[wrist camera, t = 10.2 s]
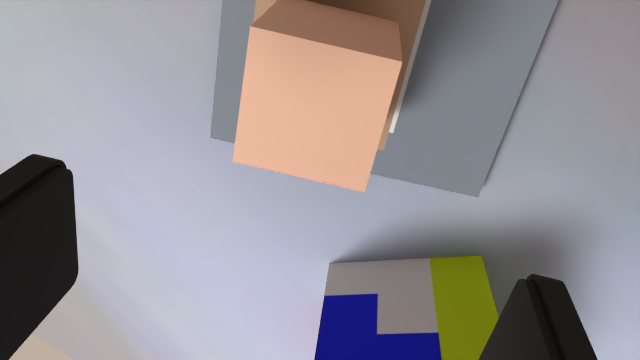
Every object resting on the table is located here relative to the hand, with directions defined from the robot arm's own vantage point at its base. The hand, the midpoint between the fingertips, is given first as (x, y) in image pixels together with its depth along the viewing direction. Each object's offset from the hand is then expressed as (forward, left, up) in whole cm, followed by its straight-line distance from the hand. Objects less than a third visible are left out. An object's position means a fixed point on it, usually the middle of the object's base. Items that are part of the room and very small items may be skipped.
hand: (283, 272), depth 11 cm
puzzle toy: (-8, +18, -19) cm, 28 cm away
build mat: (-1, +1, -19) cm, 19 cm away
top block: (0, 0, -14) cm, 14 cm away
